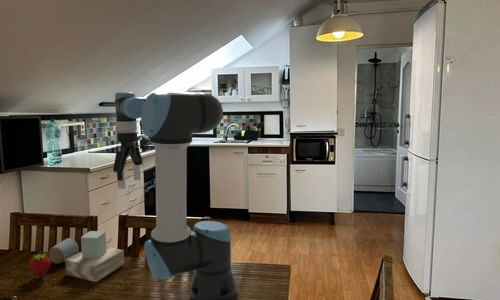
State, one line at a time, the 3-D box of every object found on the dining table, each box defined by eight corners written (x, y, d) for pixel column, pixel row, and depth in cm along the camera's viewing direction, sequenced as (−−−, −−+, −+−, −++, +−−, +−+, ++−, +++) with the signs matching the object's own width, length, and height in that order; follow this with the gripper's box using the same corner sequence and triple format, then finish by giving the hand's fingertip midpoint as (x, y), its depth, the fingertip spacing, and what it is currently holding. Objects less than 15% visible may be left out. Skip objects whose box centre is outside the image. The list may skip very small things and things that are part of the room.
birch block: (124, 265, 131) (123, 250, 130) (95, 282, 118) (94, 266, 117) (96, 258, 136) (96, 244, 135) (66, 275, 123) (65, 259, 122)
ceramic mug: (47, 263, 131) (46, 245, 130) (64, 254, 139) (63, 236, 138) (70, 268, 128) (68, 248, 127) (86, 258, 136) (85, 240, 135)
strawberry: (40, 271, 125) (37, 246, 123) (56, 274, 123) (54, 248, 121) (25, 280, 119) (22, 253, 118) (42, 283, 117) (40, 255, 116)
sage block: (106, 251, 129) (105, 231, 128) (98, 259, 123) (96, 238, 122) (91, 251, 129) (90, 231, 128) (82, 258, 123) (80, 237, 122)
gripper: (132, 129, 147) (134, 176, 150) (100, 134, 123) (104, 192, 126) (148, 129, 146) (151, 177, 150) (120, 135, 122) (123, 192, 125)
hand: (129, 184), depth 138 cm, fingers open, 13 cm apart
